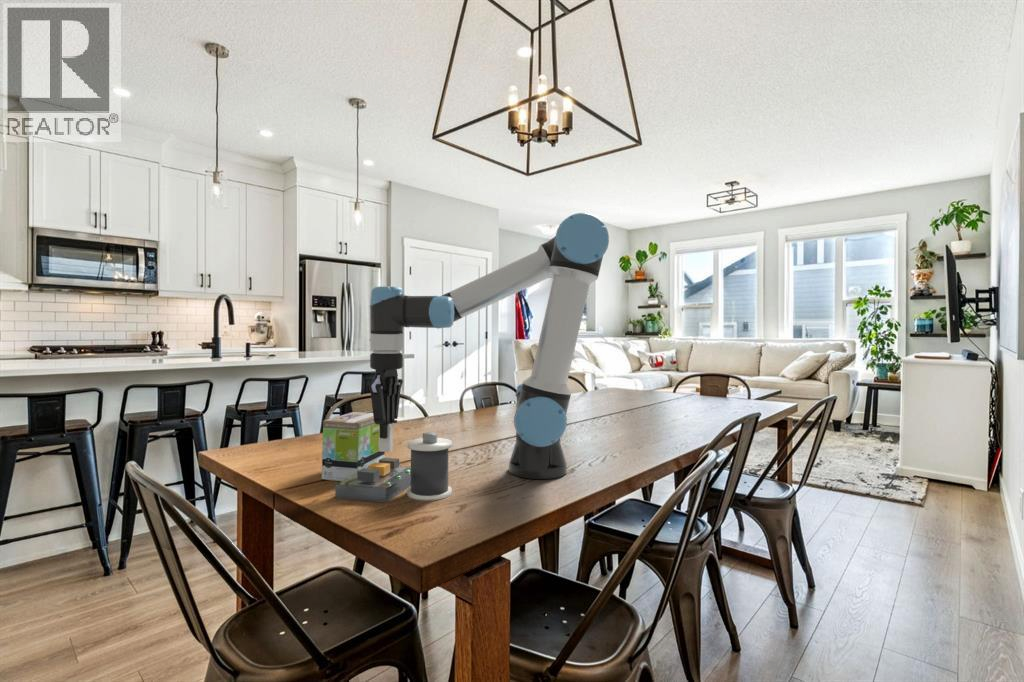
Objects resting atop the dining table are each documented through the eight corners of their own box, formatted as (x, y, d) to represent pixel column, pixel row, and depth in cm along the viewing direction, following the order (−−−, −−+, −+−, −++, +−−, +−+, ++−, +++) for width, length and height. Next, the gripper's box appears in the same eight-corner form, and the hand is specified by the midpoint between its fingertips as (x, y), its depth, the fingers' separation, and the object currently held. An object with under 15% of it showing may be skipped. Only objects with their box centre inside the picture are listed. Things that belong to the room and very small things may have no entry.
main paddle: (390, 472, 121) (390, 463, 121) (383, 475, 118) (383, 467, 118) (374, 470, 122) (374, 462, 122) (367, 474, 119) (367, 465, 119)
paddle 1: (379, 478, 116) (379, 469, 116) (373, 481, 113) (373, 472, 113) (363, 477, 117) (363, 468, 117) (357, 480, 114) (357, 471, 114)
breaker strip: (418, 480, 127) (418, 467, 127) (385, 503, 110) (385, 487, 110) (373, 476, 130) (373, 463, 129) (335, 498, 113) (335, 483, 113)
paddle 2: (399, 466, 126) (399, 458, 125) (394, 469, 123) (394, 461, 123) (383, 465, 126) (384, 457, 126) (378, 468, 124) (378, 460, 124)
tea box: (358, 483, 124) (358, 422, 124) (320, 480, 126) (320, 420, 126) (386, 466, 139) (386, 412, 138) (351, 464, 141) (351, 410, 140)
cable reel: (457, 488, 121) (458, 430, 120) (442, 502, 111) (442, 439, 111) (417, 484, 123) (418, 428, 123) (399, 498, 113) (399, 436, 113)
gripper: (385, 350, 130) (384, 444, 130) (357, 353, 117) (357, 456, 118) (412, 351, 128) (412, 446, 129) (388, 353, 115) (387, 458, 116)
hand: (386, 450), depth 123 cm, fingers closed
